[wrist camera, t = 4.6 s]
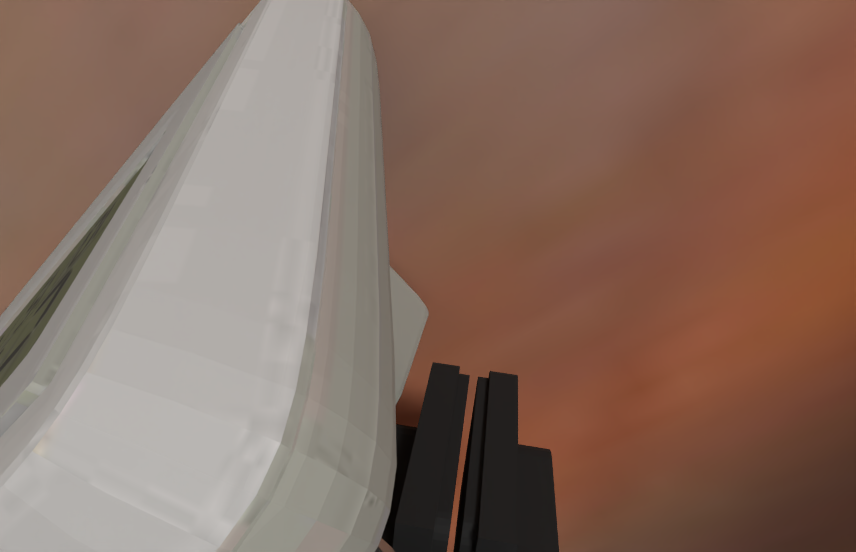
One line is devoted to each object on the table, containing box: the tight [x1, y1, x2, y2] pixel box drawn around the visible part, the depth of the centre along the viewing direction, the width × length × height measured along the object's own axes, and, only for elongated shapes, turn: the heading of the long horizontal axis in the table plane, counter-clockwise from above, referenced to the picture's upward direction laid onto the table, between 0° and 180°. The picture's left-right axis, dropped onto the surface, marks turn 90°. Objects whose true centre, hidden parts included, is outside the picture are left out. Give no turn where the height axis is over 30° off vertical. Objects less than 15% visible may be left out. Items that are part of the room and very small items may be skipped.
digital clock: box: [0, 0, 428, 552], centre depth 10 cm, size 16×9×11 cm, turn 121°
